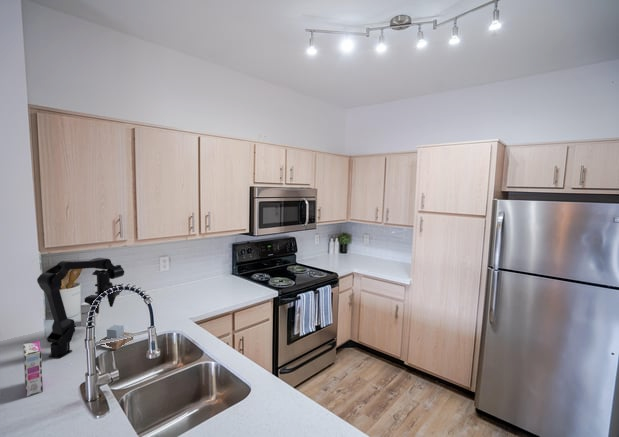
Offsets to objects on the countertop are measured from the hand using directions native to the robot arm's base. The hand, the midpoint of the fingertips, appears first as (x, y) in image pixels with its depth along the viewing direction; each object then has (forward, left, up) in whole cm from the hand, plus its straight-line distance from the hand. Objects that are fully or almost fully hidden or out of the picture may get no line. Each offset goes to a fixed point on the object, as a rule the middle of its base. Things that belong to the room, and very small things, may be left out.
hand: (104, 310), depth 162 cm
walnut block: (-9, -14, -14) cm, 21 cm away
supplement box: (+10, +18, -13) cm, 24 cm away
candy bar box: (-45, -8, -13) cm, 47 cm away
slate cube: (-9, -14, -9) cm, 19 cm away
